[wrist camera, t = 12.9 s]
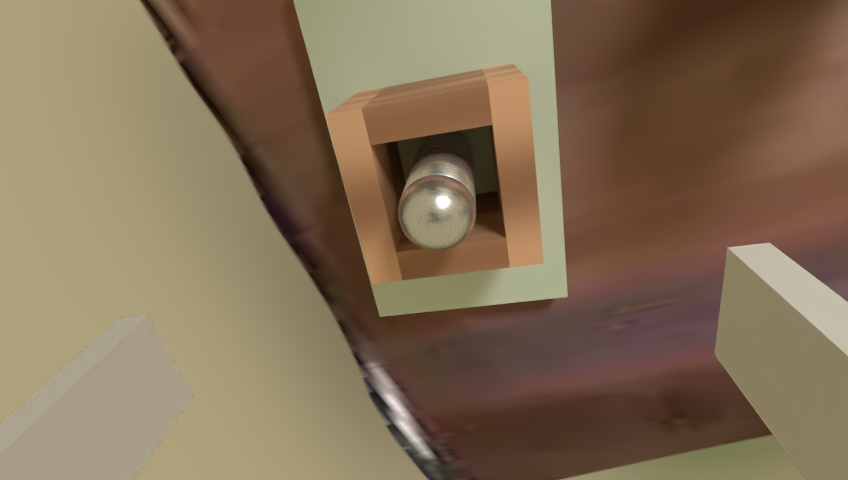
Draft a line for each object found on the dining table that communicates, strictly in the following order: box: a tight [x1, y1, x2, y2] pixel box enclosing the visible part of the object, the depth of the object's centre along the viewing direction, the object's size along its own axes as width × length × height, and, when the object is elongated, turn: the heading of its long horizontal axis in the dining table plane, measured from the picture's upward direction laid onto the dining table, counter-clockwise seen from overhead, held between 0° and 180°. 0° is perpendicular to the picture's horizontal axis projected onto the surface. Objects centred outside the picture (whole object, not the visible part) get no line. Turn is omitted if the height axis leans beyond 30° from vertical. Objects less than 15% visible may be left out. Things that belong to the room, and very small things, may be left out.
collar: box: [326, 63, 544, 284], centre depth 22 cm, size 8×8×6 cm
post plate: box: [293, 0, 568, 317], centre depth 25 cm, size 20×12×2 cm, turn 11°
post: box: [398, 131, 476, 251], centre depth 20 cm, size 3×3×10 cm
